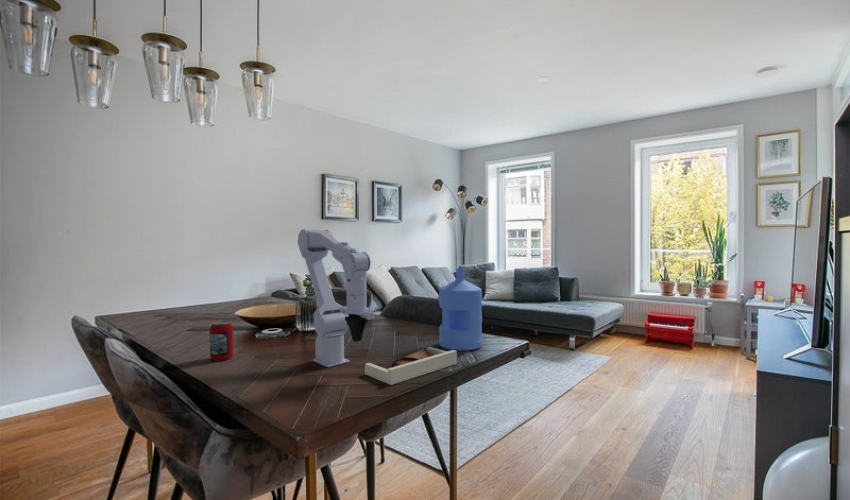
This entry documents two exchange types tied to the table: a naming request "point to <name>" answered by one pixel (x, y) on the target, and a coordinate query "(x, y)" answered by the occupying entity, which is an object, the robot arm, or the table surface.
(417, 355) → the sunglasses case
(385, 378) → the cream tray
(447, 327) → the water jug
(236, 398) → the table surface
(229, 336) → the beverage can
